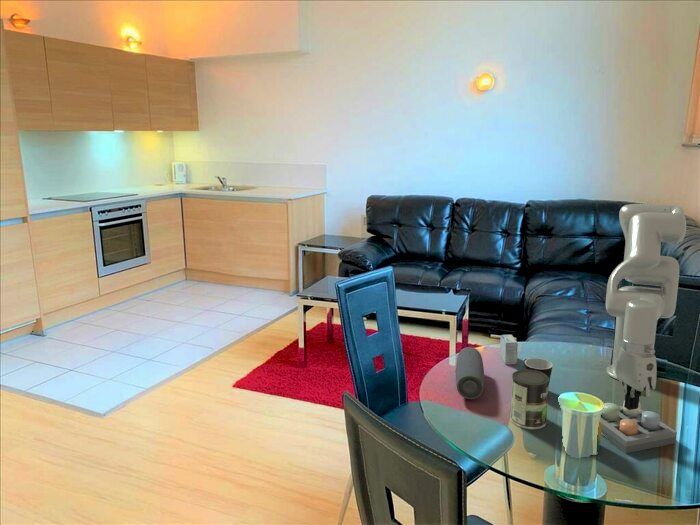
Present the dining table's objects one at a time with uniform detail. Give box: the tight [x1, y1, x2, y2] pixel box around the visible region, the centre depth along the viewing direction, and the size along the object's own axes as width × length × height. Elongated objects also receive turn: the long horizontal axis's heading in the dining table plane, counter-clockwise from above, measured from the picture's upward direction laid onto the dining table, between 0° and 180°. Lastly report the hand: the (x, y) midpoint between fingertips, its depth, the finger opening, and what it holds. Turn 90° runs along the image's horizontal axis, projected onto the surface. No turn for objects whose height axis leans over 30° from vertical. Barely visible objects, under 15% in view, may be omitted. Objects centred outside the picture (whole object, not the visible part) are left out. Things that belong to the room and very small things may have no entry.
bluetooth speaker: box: [454, 346, 485, 400], centre depth 180 cm, size 23×9×10 cm, turn 168°
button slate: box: [641, 410, 661, 430], centre depth 148 cm, size 4×4×3 cm
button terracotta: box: [619, 419, 638, 437], centre depth 147 cm, size 4×4×3 cm
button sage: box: [602, 402, 620, 421], centre depth 153 cm, size 4×4×3 cm
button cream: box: [622, 399, 642, 417], centre depth 155 cm, size 4×4×3 cm
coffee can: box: [510, 368, 551, 430], centre depth 158 cm, size 10×10×14 cm
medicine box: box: [499, 334, 519, 366], centre depth 199 cm, size 8×4×9 cm, turn 179°
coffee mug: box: [523, 357, 554, 383], centre depth 177 cm, size 12×9×10 cm
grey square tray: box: [600, 404, 677, 454], centre depth 151 cm, size 16×16×4 cm
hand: (631, 407), depth 148 cm, fingers closed
